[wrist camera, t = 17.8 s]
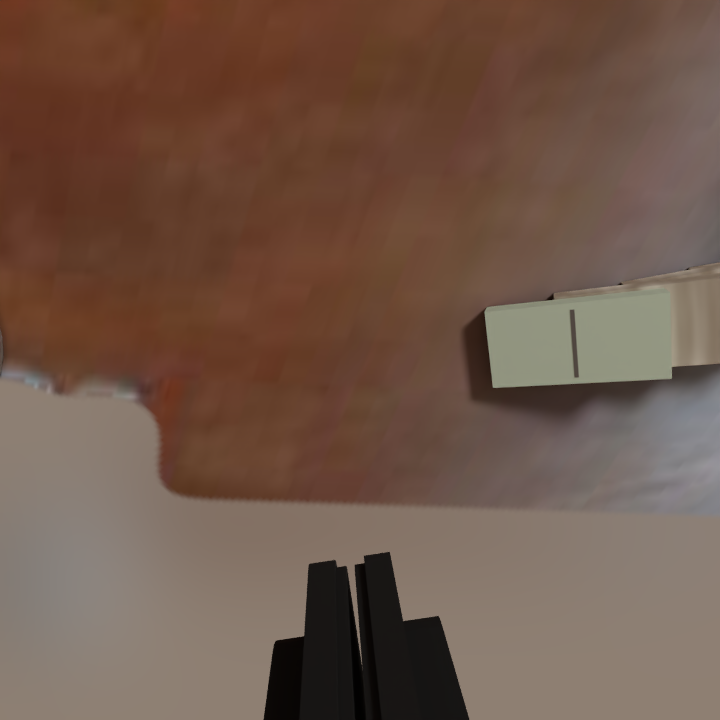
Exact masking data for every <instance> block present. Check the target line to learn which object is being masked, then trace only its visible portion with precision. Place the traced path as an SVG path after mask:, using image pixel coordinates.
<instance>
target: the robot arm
mask: <svg viewBox="0 0 720 720" xmlns="http://www.w3.org/2000/svg"><path fill="white" fill-rule="evenodd" d="M2 361H3V342H2V335H1V331H0V374H1V368H2ZM364 561H365V563H363V564H357V565H355V577H356V588H357V589H356V590H357V603H358V615H359V628H360V642H361V654H362V664H361V657H360V650H359V644H358V638H357V630H356V625H355V617H354V611H353V604H352V598H351V592H350V585H349V578H348V572H347V567H346V566H343V567H337V565H336V561H335V560H332V561H325V562H319V563H313V564H309V568H308V569H309V570H308V584H307V601H306V617H305V635H304V636H303V637H297V638H290V639H284V640H277V641H276V642H275V644H274V648H273V654H272V662H271V669H270V676H269V684H268V691H267V699H266V707H265V713H264V720H469V717H468V713H467V710H466V706H465V703H464V699H463V696H462V693H461V689H460V686H459V682H458V679H457V675H456V672H455V668H454V665H453V661H452V658H451V655H450V651H449V648H448V644H447V641H446V637H445V634H444V631H443V627H442V624H441V621H440V618H439V616H435V617H429V618H422V619H415V620H409V621H403V619H402V613H401V608H400V603H399V598H398V593H397V587H396V582H395V577H394V572H393V567H392V561H391V556H390V552H386V553H380V554H373V555H366V556H364ZM362 667H363V670H362Z"/></svg>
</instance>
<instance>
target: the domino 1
mask: <svg viewBox="0 0 720 720" xmlns="http://www.w3.org/2000/svg"><path fill="white" fill-rule="evenodd" d="M484 313H485V321H486V330H487V339H488V348H489V357H490V366H491V375H492V384H493V388H501V387H521V386H540V385H560V384H580V383H599V382H619V381H638V380H658V379H672V353H671V302H670V292H669V291H668V290H666V289H665V288H658V289H649V290H640V291H630V292H621V293H612V294H603V295H594V296H584V297H575V298H566V299H557V300H548V301H538V302H529V303H520V304H511V305H502V306H492V307H487V308H486V310H485V312H484Z"/></svg>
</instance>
